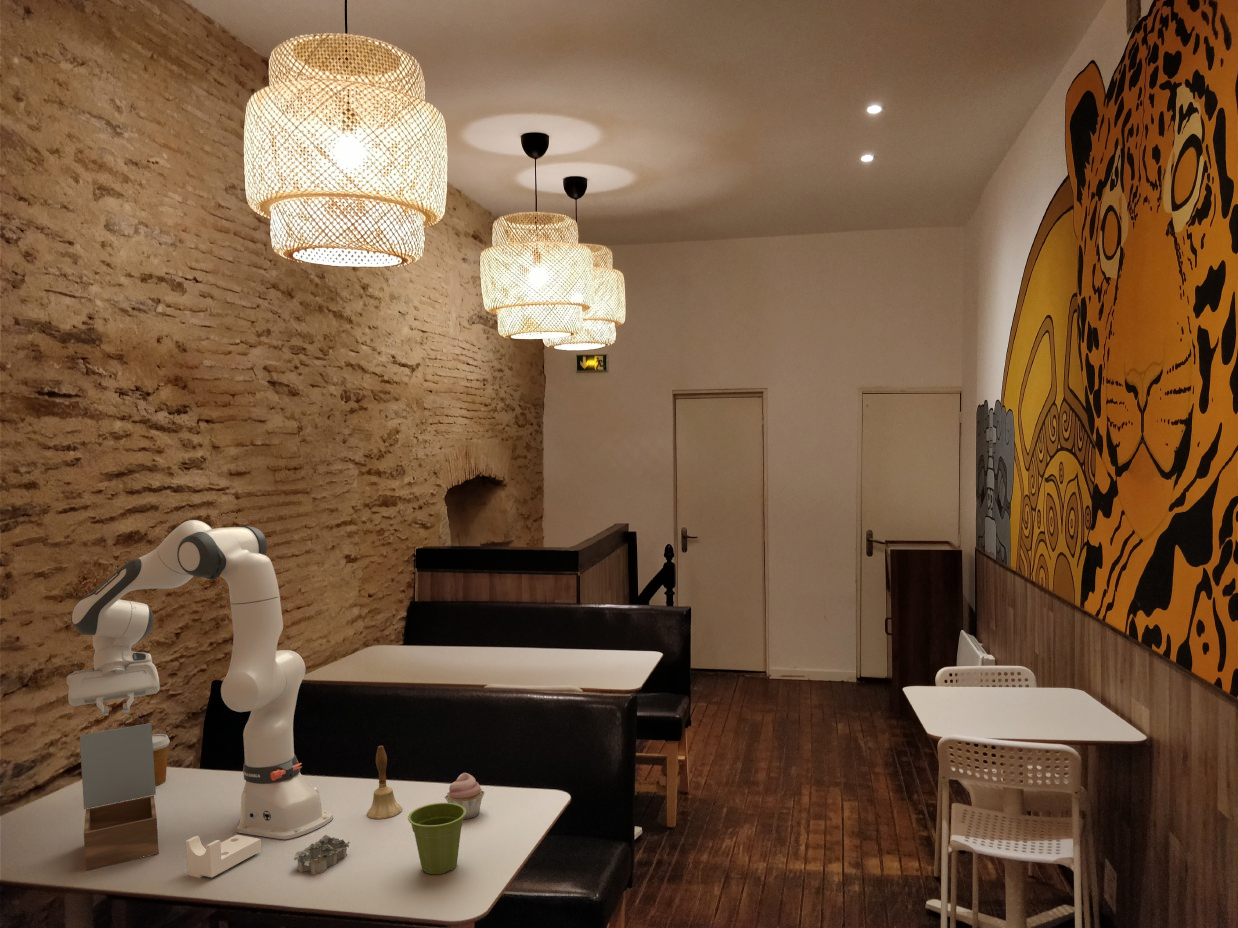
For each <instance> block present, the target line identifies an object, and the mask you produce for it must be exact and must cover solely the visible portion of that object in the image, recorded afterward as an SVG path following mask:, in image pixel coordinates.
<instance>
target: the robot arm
mask: <svg viewBox="0 0 1238 928" xmlns="http://www.w3.org/2000/svg"><path fill="white" fill-rule="evenodd" d="M267 551H268V542H267V538H266V537H265V535H264V533H263V532H262V530H260V529H258V528H256V527H253V526H248V525H239V526H233V527H232V526H231V527H216V528H212V527H211V526H210V525H209V524H207V523H206V522H204V521H201V520H197V519H191V520H190V519H189V520H187V521H183V523H181V524H179V525H178V526H177V527H176V528H175V529H173V530H172V531H171V532H170V533H169V534H168V535H167V536H166V537H165V538H164V539H163V540H162V542H161V543H160V544H159V545H158V546H157V547H156V548H154V549H153V550H152V551H150V552H148V553H146V554H144V555H143V556H140V557H137V558H134V559H131V560H129V561H127V562H126V563H124V564H123V565H122V566H121V567H120V568H118V569H117V570H116V571H115V572H114V573H113V574H112V575H110V576H109V577H108V578H107V579H106V580H105V581H104V582H103V583H101V584H100V585H99V586H98V587H97V588H96V589H95V590H93V591H92V592H90V593H88V594H87V595H85V596H84V597H82V598H81V599H79V600H78V601H77V603H76V604H75V606H74V608H73V610H72V614H71V624H72V626H73V627H74V628H75V630H76V631H77V632H78V633H79V634H80V635H81V636H92V646H93V649H94V654H93V668H87V669H82V670H74V671H73V672H72V673H69V674H68V675H67V676H66V685H67V686H68V694H67V698H68V699H67V700H68V704H69V705H70V706H72V707H78V706H84V705H89V704H91V705H92V704H96V707H97V708H98V709H99V710H100V711H101V717H104V716H109V705H104V702H110V701H115V700H116V701H117V700H121V699H127V701H126V702H123V703H122V712H123V714H124V713H130V712H131V705H132V704H133V702H134V701H135V698H136V697H142V696H148V695H154V694H155V695H156V694H157V693H158V692H159V691H160V689H161V686H160V685H161V683H160V677H159V673H158V669H157V666H156V665H155V664H154V663H153V658H152V655H151V653H147V652H142V651H141V652H140V651H133V650H132V647H133V645H137V644H139V643H140V642H141V641H143V640H144V639H145V638H147V637H148V636H149V634H151V632H152V630H153V628H154V614H153V611H152V609H151V607H150V605H148V604H147V603H143V602H138V601H132V600H125V599H121V598H122V597H124V596H125V595H126V594H128V593H130V592H132V591H137V590H146V589H147V590H148V589H149V590H150V589H154V590H155V589H156V590H157V589H160V590H161V589H162V590H164V589H165V590H167V589H175V588H178V587H181V586H183V585H185V584H187V583H188V582H189V581H190V580H192V579H193V577H197V578H203V579H208V580H209V581H210V580H211V581H216V580H217V579H219V578H220V577H221V578H222V579H223V580H225V582H226V583H227V586H228V589H229V591H228V592H229V602H230V611H231V619H232V621H231V622H232V630H233V638H232V639H233V640H232V641H233V643H232V650H231V657H230V664H229V667H228V670H227V673H226V676H225V677H224V679H223V680H222V683H221V687H220V695H221V699H222V701H223V702H224V704H225V706H226V707H228V709H230V710H232V711H235V712H237V713H243V712H246V713H247V712H250V714H249V717H248V720H247V722H246V724H245V727H244V729H243V733H242V736H243V748H244V749H243V751H244V762H243V765H242V766H243V767H242V773H243V780H244V782H245V783H244V787H243V790H242V792H241V801H240V823H239V824H238V826H237V827H236V832H237V833H239V834H244V835H245V834H246V835H251V836H259V837H266V838H271V839H276V840H277V839H279V840H290V839H293V838H298V837H300V836H303V835H307V834H309V833H311V832H313V831H315V830H318V829H319V828H321V827H323V826H326V825H327V824H329V823H330V822H331V821H332V820H333V819H334V815H333V814H334V813H332V812H330V811H328V810H326V809H324V808H323V807H322V800H321V796H320V794H319V790H318V787H316V786H312V785H311V784H310V782H309V781H308V780H307V779H306V778H305V776H303V775H302V774H301V769H302V768H303V766H301V765H302V764H303V763H302V762H300V763H299V761H298V758H297V755H296V754H295V748H294V746H295V745H294V718H295V717H294V715H295V710H296V705H297V700H298V694H299V689H300V687H301V684H302V681H303V679H304V677H305V675H306V664H305V661H304V659H303V657H302V656H301V655H300V654H299V653H298V652H296V651H294V650H290V649H282V650H281V649H279V650H278V645H279V644H278V643H279V639H280V636H281V634H282V633H283V630H284V621H283V613H282V604H281V596H280V589H279V585H278V584H279V583H278V580H277V575H276V572H275V568H274V566H273V563H272V561H271V560H272V559H270V557H268V556H267Z"/></svg>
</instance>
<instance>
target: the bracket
mask: <svg viewBox="0 0 1238 928" xmlns="http://www.w3.org/2000/svg"><path fill="white" fill-rule="evenodd" d="M261 840H262V839H261V838H257V837H252V836H247V835H241V834H235V835H234V836H231V837H230V838H227V839H225V840H223V841H221V840H220V839H219V840H218V839H217V840H214V841H212V842H210V843H208V844H207V845H206V847H204V845H203V843H202V842H201V838H200V835H195V836H193V837H191V838H189V839H187V840H185V845H186V846H185V847H186V848H185V849H186V860H187V861H186V862H187V863H186V865H187V875H188V876H189V875H190V877H195V878H199V879H200V878H203V877H207V878H214V877H216V876H217V875H219V874H221V873H223V872H225V871H227V870H228V869H230V868H233V867H234V866H236V865H238V864H239V863H242V862H243V861H245V860H246V859H248V858H251V857H252V856H254V855H256V854H258V853H260V852H261V851H262V842H261Z"/></svg>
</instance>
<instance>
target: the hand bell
mask: <svg viewBox="0 0 1238 928" xmlns="http://www.w3.org/2000/svg"><path fill="white" fill-rule="evenodd" d="M375 764H376V769H377V771H378V788H376V789H374V790H373V795H372V796H373V797H372V798H373V799H372V803H371V806H370V808H369V809H368V811H367V812H366V816H367V817H368V818H369V819H374V820H384V819H388V818H392V817H395V816H397V815H399V814H400V813H401V812H402V811H403V808H402V805H400V804H399V803H398V802H397V800H396V799H395V795H394V789H393V788H392V787H390V786H387V776H386V775H387V774H386V771H387V765H388V756H387V753H386V749H385V748H384V745H379V746H377V750H376V754H375Z"/></svg>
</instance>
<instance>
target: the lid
mask: <svg viewBox="0 0 1238 928" xmlns="http://www.w3.org/2000/svg"><path fill="white" fill-rule="evenodd" d="M152 731H153V729H152V722H150V723H145V724H138V725H137V724H136V725H132V726H127V727H126V726H125V727H119V728H115V729H108V730H107V729H106V730H103V731H97V732H89V733H85V734H80V735H79V745H80V761H81V762H80V765H81V781H82V798H83V801H82V802H83V810H86V809H89V808H94V807H99V806H104V805H109V804H114V803H119V802H124V801H129V800H134V799H139V798H143V797H148V796H153V795H154V796H156V795H157V792H156V790H157V789H156V786H155V773H154V758H153V742H152V735H153V732H152Z"/></svg>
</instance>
